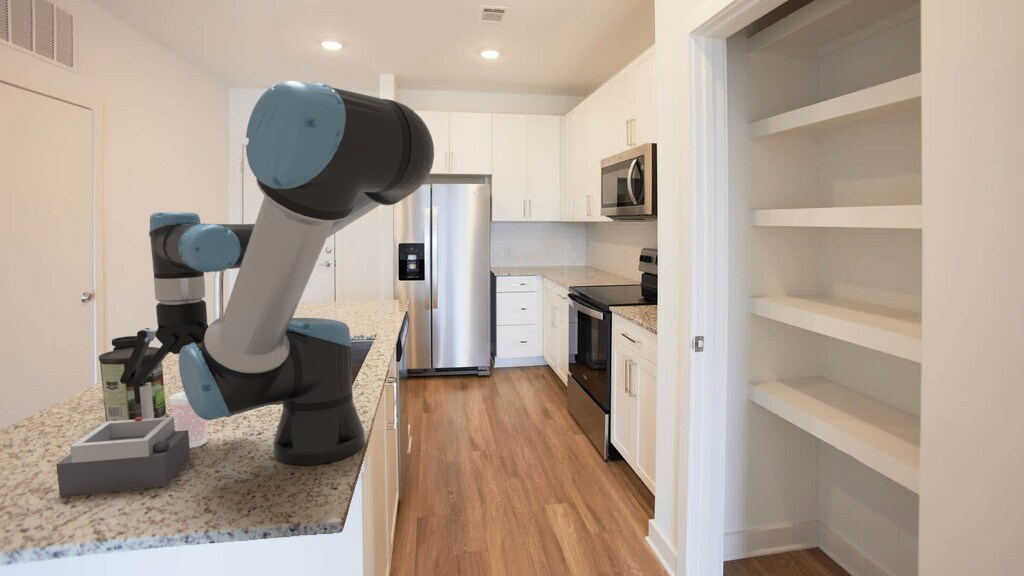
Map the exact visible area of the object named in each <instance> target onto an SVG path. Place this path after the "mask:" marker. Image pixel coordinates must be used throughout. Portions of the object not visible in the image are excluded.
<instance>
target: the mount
mask: <svg viewBox="0 0 1024 576" xmlns="http://www.w3.org/2000/svg"><path fill="white" fill-rule="evenodd" d="M69 447H70V454H68V455H66V457H64V458H62V459H61V460H59V462H57V463H56V464H55V465H56V474H57V482H58V483H57V484H58V491H59V492H58V493H59V498H62V497H70V496H71V497H72V496H80V495H82V496H83V495H91V494H102V493H112V492H122V491H123V492H124V491H135V490H144V489H154V488H164V487H168V485H170V483H171V482H172V480H173V479H174V478H175V477H176V476H177V475H178V474H179V472H180V471H181V470H182V469H183V468H184V467H185V465H186V464H187V463H188V461H190V460H191V448H190V447H189V434H188V430H183V431H175V424H174V417H173V416H169V417H168V416H166V417H164V418H150V419H143V417H137V418H135V420H122V421H108V422H106V421H104V422H103V423H102V424H100V425H99V426H98V427H96V428H95V429H93V430H92V431H91V432H89V433H87V434H86V435H84V436H83V437H82V438H81V439H79V440H77V441H76V442H75V443H73V444H72V445H70V446H69ZM183 466H184V467H183Z"/></svg>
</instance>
